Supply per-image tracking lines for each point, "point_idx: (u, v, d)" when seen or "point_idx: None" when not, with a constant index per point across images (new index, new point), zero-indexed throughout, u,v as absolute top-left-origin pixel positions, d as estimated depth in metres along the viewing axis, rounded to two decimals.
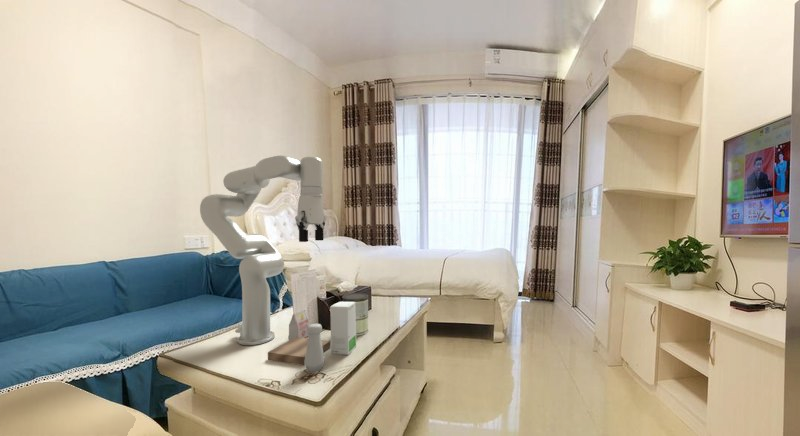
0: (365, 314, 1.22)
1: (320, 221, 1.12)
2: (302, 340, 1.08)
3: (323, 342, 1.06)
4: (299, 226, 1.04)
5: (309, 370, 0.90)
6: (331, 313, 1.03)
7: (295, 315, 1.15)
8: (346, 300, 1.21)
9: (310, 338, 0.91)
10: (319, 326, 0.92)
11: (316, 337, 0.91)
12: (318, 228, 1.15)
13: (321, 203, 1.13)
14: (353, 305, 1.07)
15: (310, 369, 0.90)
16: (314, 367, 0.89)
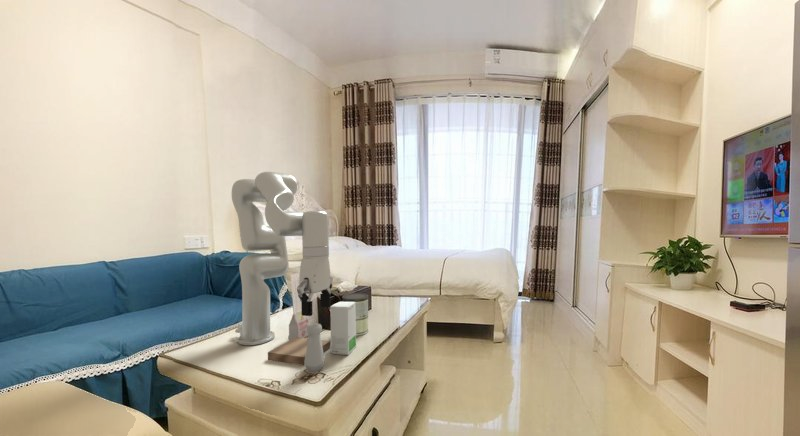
0: (365, 314, 1.22)
1: (326, 286, 0.94)
2: (302, 340, 1.08)
3: (323, 342, 1.06)
4: (302, 298, 0.86)
5: (309, 370, 0.90)
6: (331, 313, 1.03)
7: (295, 315, 1.15)
8: (346, 300, 1.21)
9: (310, 338, 0.91)
10: (319, 326, 0.92)
11: (316, 337, 0.91)
12: (324, 292, 0.97)
13: (327, 264, 0.95)
14: (353, 305, 1.07)
15: (310, 369, 0.90)
16: (314, 367, 0.89)
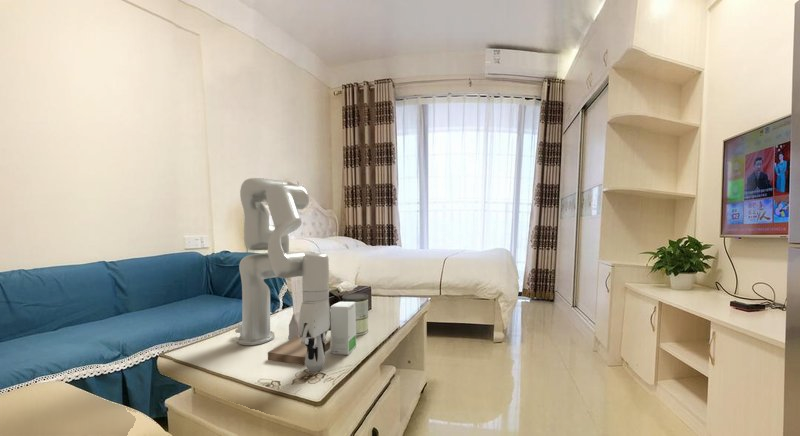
0: (365, 314, 1.22)
1: (326, 328, 0.94)
2: None
3: None
4: (307, 345, 0.89)
5: (309, 370, 0.90)
6: (331, 313, 1.03)
7: (295, 315, 1.15)
8: (346, 300, 1.21)
9: None
10: None
11: (317, 337, 0.91)
12: None
13: (327, 306, 0.94)
14: (353, 305, 1.07)
15: (310, 369, 0.90)
16: (315, 367, 0.90)
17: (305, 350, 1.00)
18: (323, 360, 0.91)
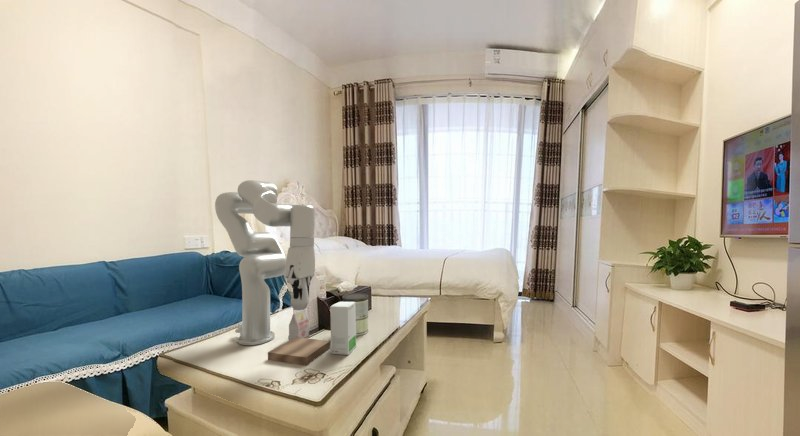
0: (365, 314, 1.22)
1: (311, 273, 1.04)
2: (302, 340, 1.08)
3: (323, 342, 1.06)
4: (293, 285, 0.98)
5: (294, 308, 1.00)
6: (331, 313, 1.03)
7: (295, 315, 1.15)
8: (346, 300, 1.21)
9: (296, 280, 1.01)
10: None
11: (302, 279, 1.01)
12: None
13: (312, 253, 1.04)
14: (353, 305, 1.07)
15: (295, 307, 1.00)
16: (299, 305, 1.00)
17: (305, 350, 1.00)
18: (307, 300, 1.01)
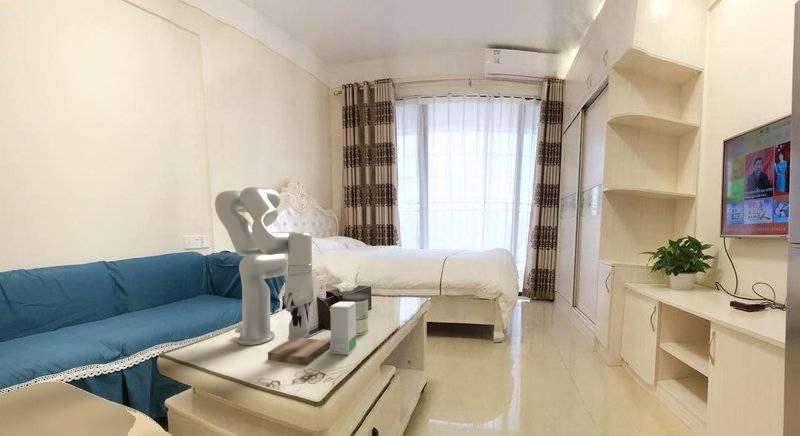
0: (365, 314, 1.22)
1: (309, 299, 1.05)
2: (302, 340, 1.08)
3: (323, 342, 1.06)
4: (292, 313, 1.00)
5: (294, 335, 1.01)
6: (331, 313, 1.03)
7: None
8: (346, 300, 1.21)
9: None
10: None
11: (301, 306, 1.02)
12: None
13: (310, 280, 1.05)
14: (353, 305, 1.07)
15: (295, 334, 1.01)
16: (299, 332, 1.01)
17: (305, 350, 1.00)
18: (306, 327, 1.03)
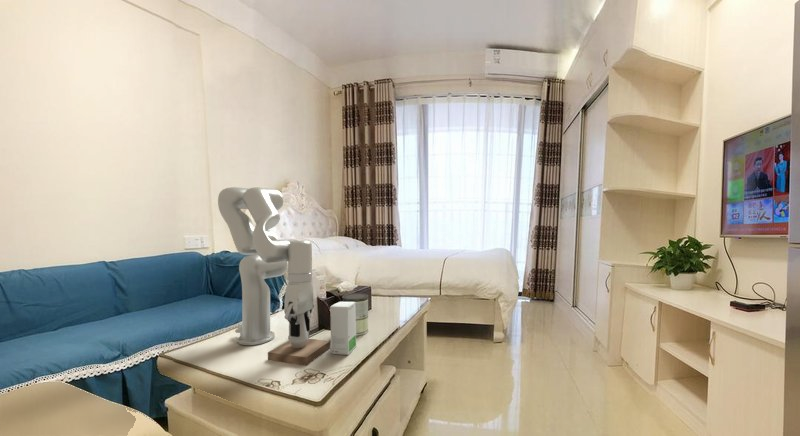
0: (365, 314, 1.22)
1: (309, 307, 1.05)
2: None
3: (323, 342, 1.06)
4: (290, 322, 0.99)
5: (294, 346, 1.01)
6: (331, 313, 1.03)
7: None
8: (346, 300, 1.21)
9: (295, 318, 1.02)
10: None
11: (300, 317, 1.02)
12: (304, 317, 1.06)
13: (310, 288, 1.05)
14: (353, 305, 1.07)
15: (294, 345, 1.01)
16: (298, 344, 1.01)
17: (305, 350, 1.00)
18: (306, 338, 1.03)
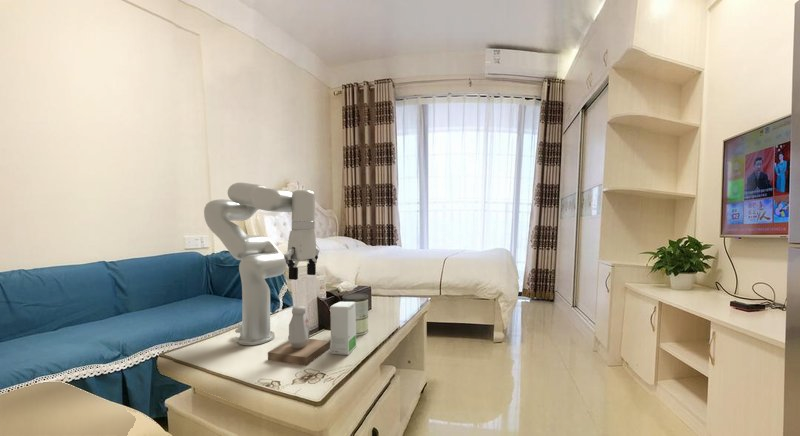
0: (365, 314, 1.22)
1: (312, 256, 1.08)
2: None
3: (323, 342, 1.06)
4: (288, 264, 1.00)
5: (294, 346, 1.01)
6: (331, 313, 1.03)
7: None
8: (346, 300, 1.21)
9: (295, 318, 1.02)
10: (303, 308, 1.03)
11: (300, 318, 1.02)
12: (310, 262, 1.11)
13: (313, 237, 1.09)
14: (353, 305, 1.07)
15: (294, 345, 1.01)
16: (298, 344, 1.01)
17: (305, 350, 1.00)
18: (306, 338, 1.02)
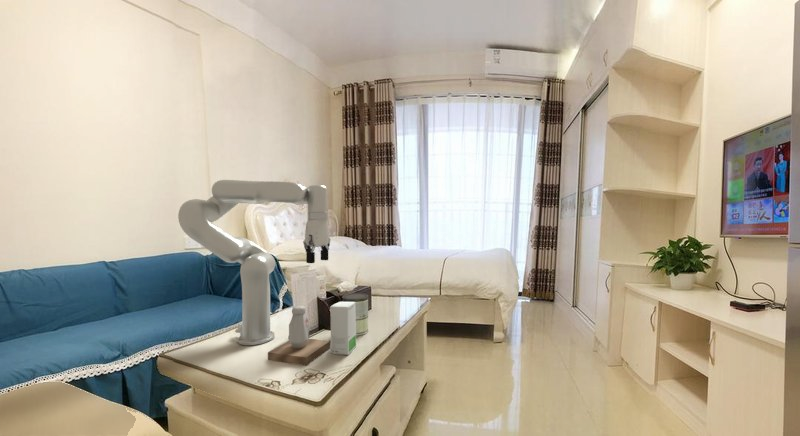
0: (365, 314, 1.22)
1: (325, 243, 1.23)
2: None
3: (323, 342, 1.06)
4: (307, 249, 1.15)
5: (294, 346, 1.01)
6: (331, 313, 1.03)
7: None
8: (346, 300, 1.21)
9: (295, 318, 1.02)
10: (303, 308, 1.03)
11: (300, 318, 1.02)
12: (323, 249, 1.26)
13: (326, 226, 1.23)
14: (353, 305, 1.07)
15: (294, 345, 1.01)
16: (298, 344, 1.01)
17: (305, 350, 1.00)
18: (306, 338, 1.02)
